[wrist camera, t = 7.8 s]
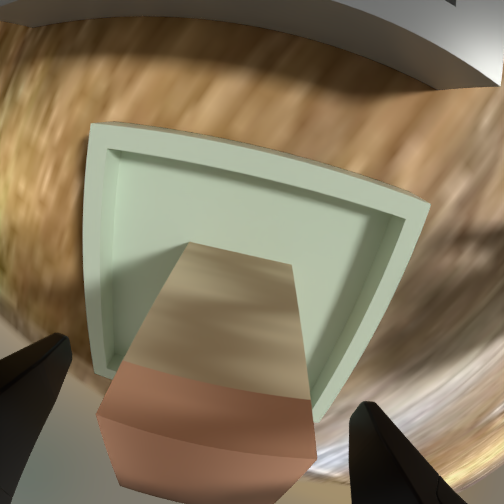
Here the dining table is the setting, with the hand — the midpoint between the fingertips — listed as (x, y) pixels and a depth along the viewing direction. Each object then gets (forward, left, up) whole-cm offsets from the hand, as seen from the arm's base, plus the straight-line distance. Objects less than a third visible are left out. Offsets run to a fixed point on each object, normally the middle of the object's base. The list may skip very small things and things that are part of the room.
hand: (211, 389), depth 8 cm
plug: (0, 0, -5) cm, 5 cm away
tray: (0, 0, -6) cm, 6 cm away
